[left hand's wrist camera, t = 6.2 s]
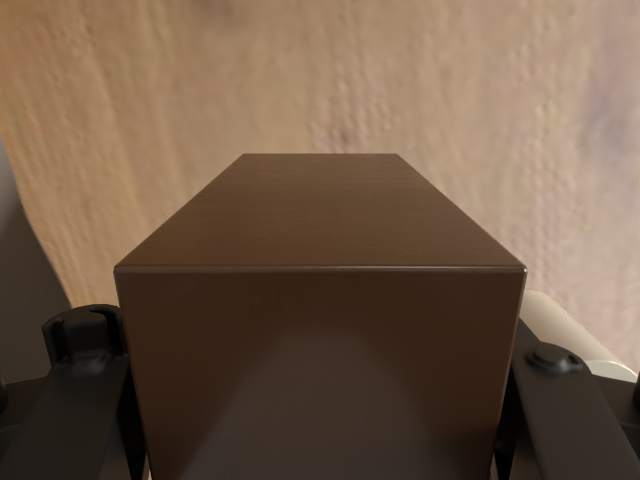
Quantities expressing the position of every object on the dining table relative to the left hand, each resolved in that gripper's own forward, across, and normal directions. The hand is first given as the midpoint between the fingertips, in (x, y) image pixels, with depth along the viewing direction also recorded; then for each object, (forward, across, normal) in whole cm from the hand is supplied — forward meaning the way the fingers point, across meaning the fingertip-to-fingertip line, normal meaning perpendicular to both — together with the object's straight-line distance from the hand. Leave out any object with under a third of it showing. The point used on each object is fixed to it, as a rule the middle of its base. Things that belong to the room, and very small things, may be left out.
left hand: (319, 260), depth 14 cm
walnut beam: (+1, 0, -10) cm, 10 cm away
